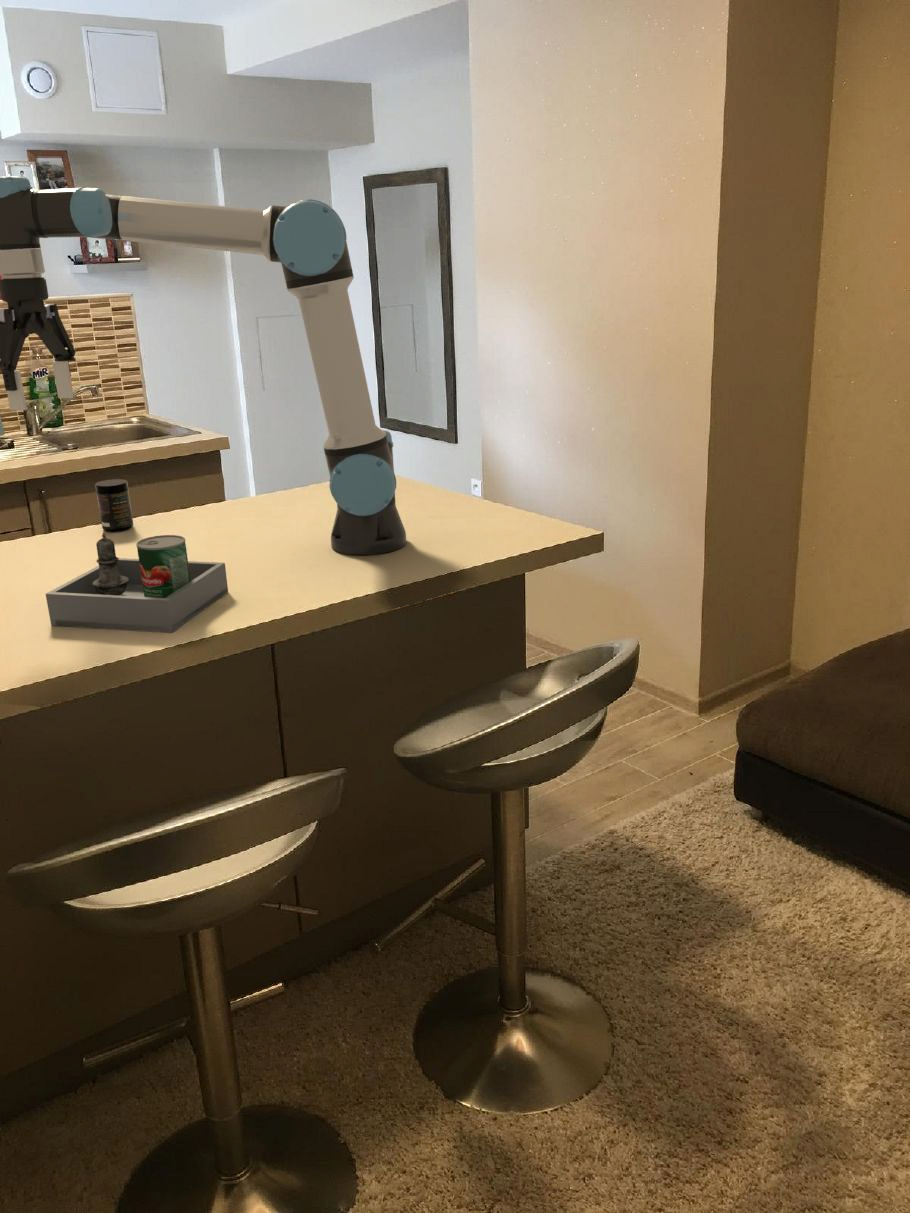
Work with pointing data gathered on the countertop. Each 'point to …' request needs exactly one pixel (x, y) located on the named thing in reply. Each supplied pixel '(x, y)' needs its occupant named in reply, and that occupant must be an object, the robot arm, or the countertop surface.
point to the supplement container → (114, 505)
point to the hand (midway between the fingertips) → (43, 404)
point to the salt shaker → (109, 570)
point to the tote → (136, 600)
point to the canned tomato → (163, 565)
